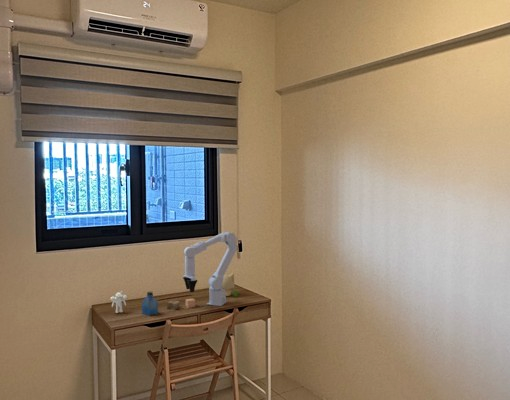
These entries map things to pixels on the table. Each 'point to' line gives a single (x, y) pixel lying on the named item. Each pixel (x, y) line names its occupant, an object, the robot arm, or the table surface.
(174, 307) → the slab lower
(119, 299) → the hat wearing toy figure
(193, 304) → the block
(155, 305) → the perfume bottle
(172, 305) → the slab upper
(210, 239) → the robot arm
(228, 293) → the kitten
